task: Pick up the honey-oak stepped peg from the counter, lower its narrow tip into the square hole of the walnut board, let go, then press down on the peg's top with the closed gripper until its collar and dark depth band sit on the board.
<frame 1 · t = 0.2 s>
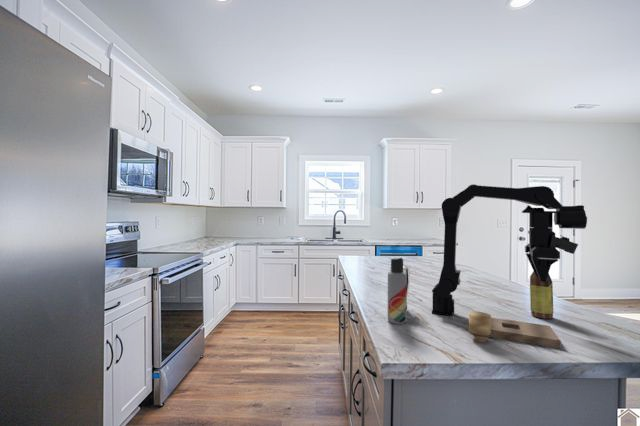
hand: (540, 279, 90), 14 cm above the counter, tool pointing down, fingers open, 9 cm apart
oak peg: (479, 340, 79), on the counter
lotion bottle: (396, 321, 93), on the counter
sauce bottle: (541, 317, 100), on the counter
walnut board: (510, 333, 84), on the counter
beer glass: (399, 310, 106), on the counter
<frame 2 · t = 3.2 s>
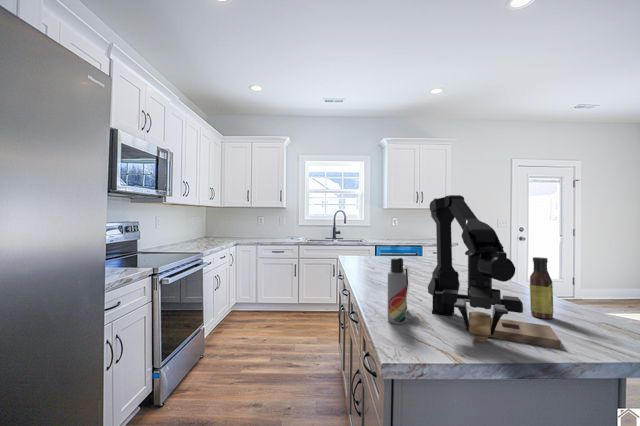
hand: (479, 332, 79), 2 cm above the counter, tool pointing down, fingers closed on oak peg, 5 cm apart
oak peg: (479, 340, 79), on the counter, touching gripper
everything else where it was.
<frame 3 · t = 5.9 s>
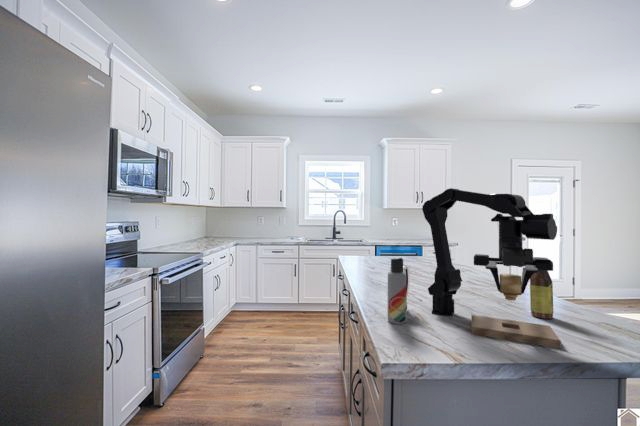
hand: (510, 292, 85), 12 cm above the counter, tool pointing down, fingers closed on oak peg, 5 cm apart
oak peg: (510, 299, 84), point 10 cm above the counter, touching gripper
everything else where it was.
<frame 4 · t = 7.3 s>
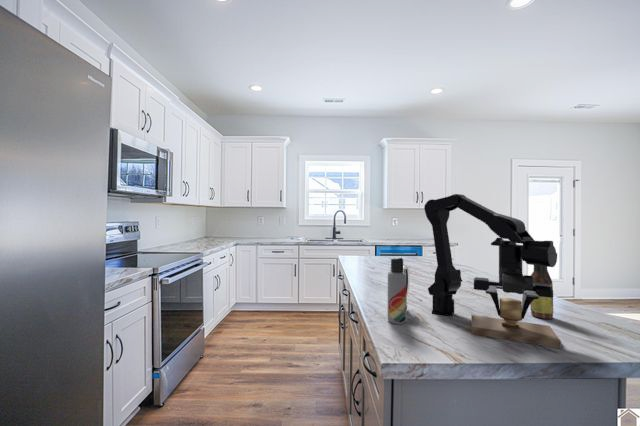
hand: (510, 317, 84), 5 cm above the counter, tool pointing down, fingers closed on oak peg, 5 cm apart
oak peg: (510, 324, 84), point 3 cm above the counter, touching gripper
everything else where it was.
when the fingers open (3 cm above the counter, at t = 8.6 s): oak peg stays where it is, resting on walnut board.
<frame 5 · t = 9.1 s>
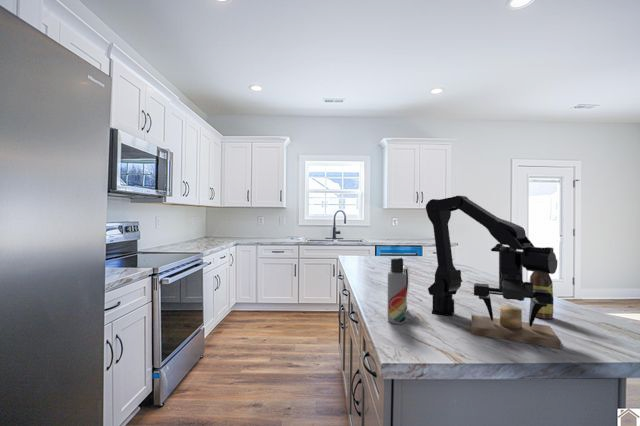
hand: (510, 323, 84), 3 cm above the counter, tool pointing down, fingers open, 9 cm apart
oak peg: (510, 332, 84), resting on walnut board
everything else where it was.
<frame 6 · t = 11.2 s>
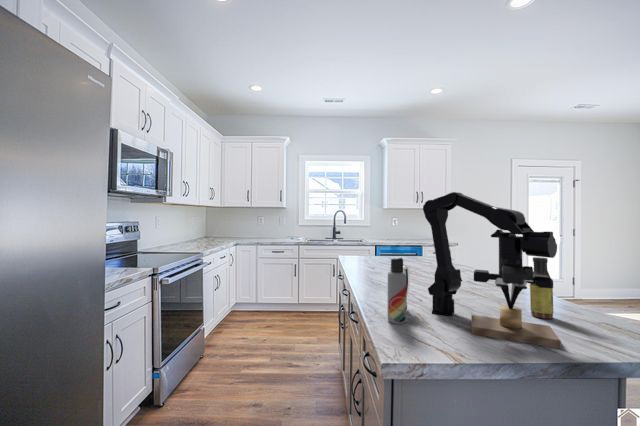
hand: (510, 308, 84), 7 cm above the counter, tool pointing down, fingers closed, pressing on oak peg
oak peg: (510, 332, 84), resting on walnut board, touching gripper
everything else where it was.
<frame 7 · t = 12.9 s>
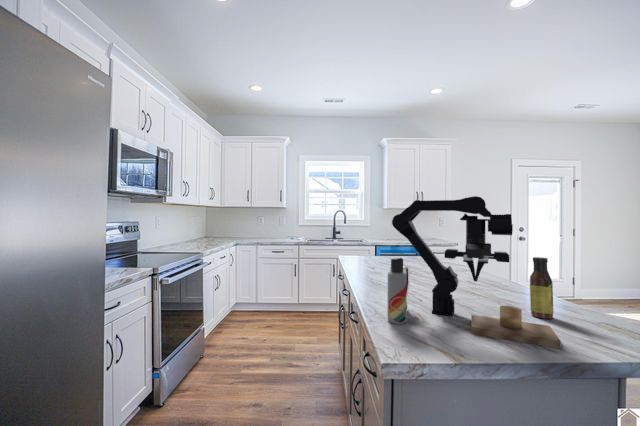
hand: (475, 281, 98), 12 cm above the counter, tool pointing down, fingers closed
oak peg: (510, 332, 84), resting on walnut board
everything else where it was.
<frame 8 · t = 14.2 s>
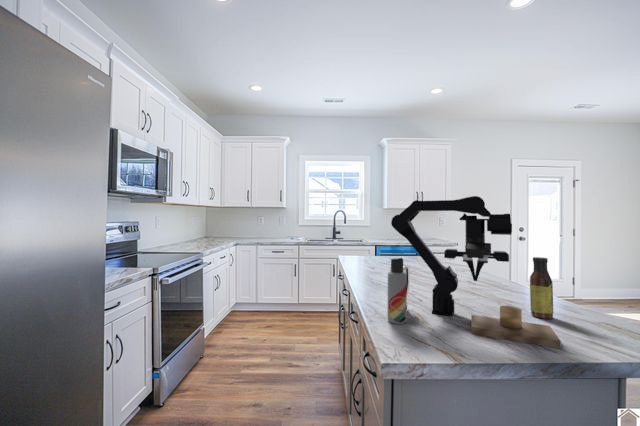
hand: (475, 280, 98), 12 cm above the counter, tool pointing down, fingers closed
nothing on the counter moved.
at the end: oak peg 0.0 cm off-centre on the walnut board, point 0.2 cm above the walnut board's base; oak peg tilted 0°; the gripper is holding nothing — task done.
